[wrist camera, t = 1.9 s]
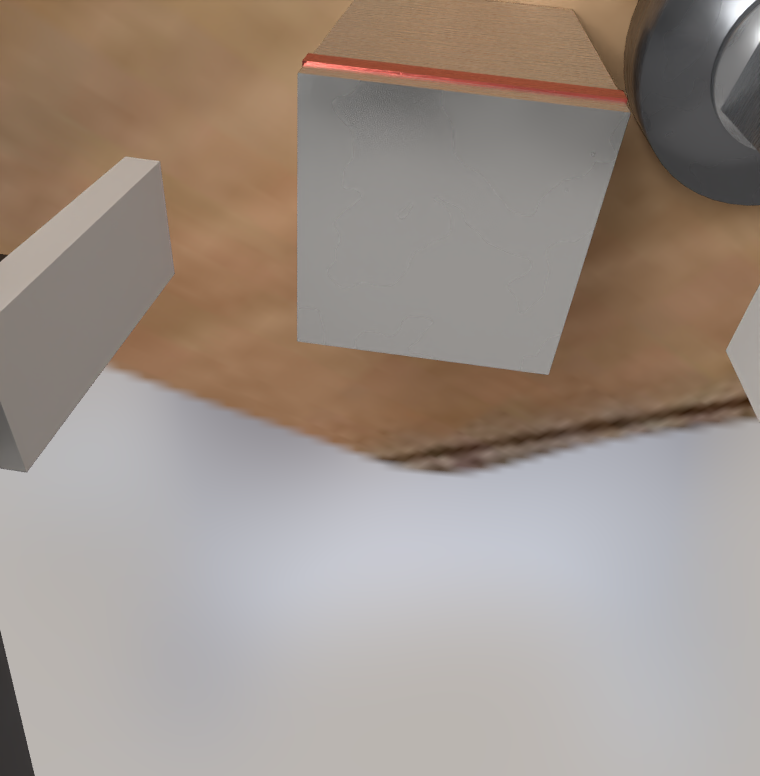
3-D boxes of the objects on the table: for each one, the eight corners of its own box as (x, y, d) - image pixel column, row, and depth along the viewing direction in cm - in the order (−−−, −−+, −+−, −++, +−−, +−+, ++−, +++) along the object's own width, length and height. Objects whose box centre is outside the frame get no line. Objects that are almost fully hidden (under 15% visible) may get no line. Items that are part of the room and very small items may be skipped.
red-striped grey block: (352, 186, 25) (295, 342, 17) (363, -17, 20) (295, 69, 13) (527, 208, 24) (550, 376, 17) (574, 8, 20) (634, 110, 13)
